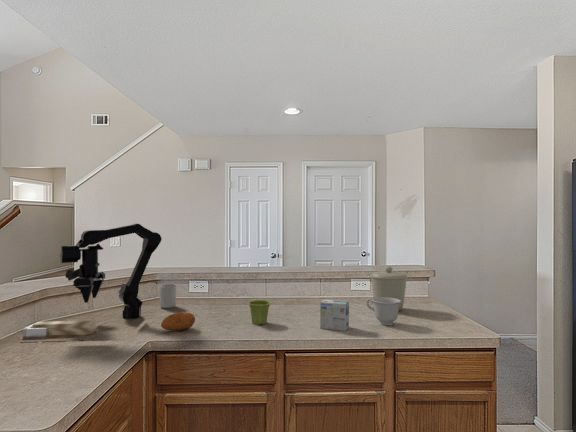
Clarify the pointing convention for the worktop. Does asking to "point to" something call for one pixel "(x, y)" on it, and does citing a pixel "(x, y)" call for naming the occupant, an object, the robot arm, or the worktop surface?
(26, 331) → the cup bracket
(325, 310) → the light bulb box
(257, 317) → the plant pot
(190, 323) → the potato
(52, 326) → the rail
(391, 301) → the teacup
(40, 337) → the mounting board
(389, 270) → the canister
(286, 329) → the worktop surface
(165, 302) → the can
